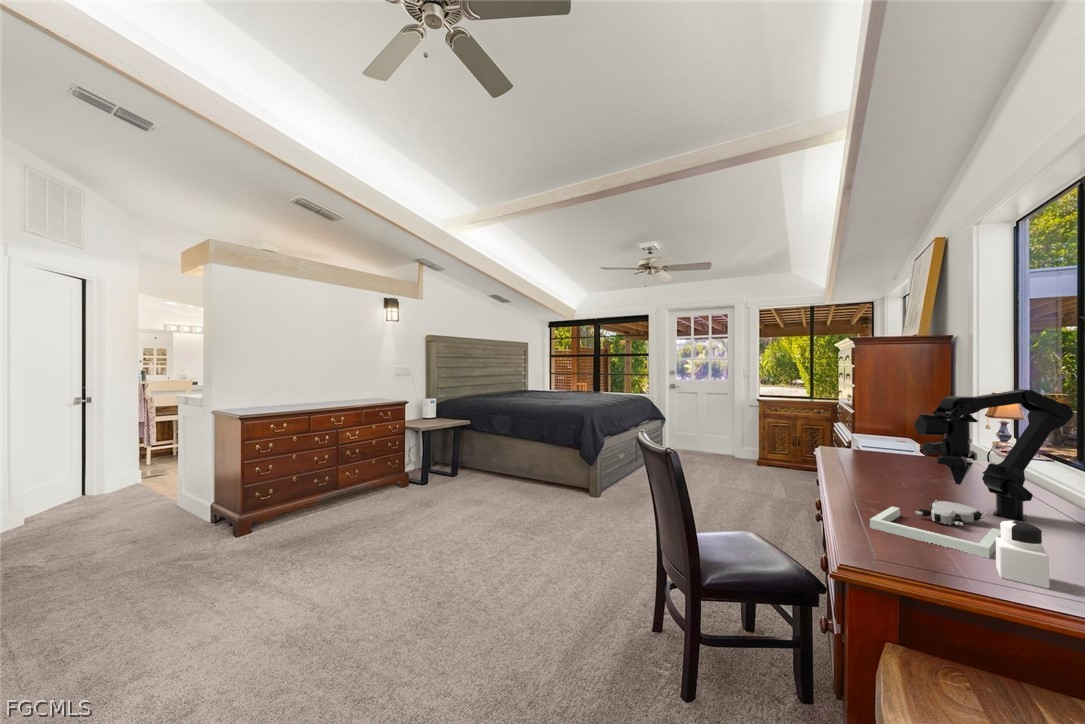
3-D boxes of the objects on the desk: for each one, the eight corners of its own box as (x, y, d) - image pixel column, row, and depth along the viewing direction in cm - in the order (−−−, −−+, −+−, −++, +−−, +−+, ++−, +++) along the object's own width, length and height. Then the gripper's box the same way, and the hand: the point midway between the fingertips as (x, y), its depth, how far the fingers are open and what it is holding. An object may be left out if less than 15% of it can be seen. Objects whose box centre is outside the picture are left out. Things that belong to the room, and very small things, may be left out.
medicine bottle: (1043, 577, 93) (1042, 523, 93) (1049, 589, 87) (1048, 532, 88) (995, 566, 98) (995, 515, 98) (999, 578, 92) (998, 523, 93)
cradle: (892, 514, 133) (891, 506, 133) (1003, 539, 113) (1003, 530, 113) (869, 527, 121) (869, 519, 121) (989, 558, 102) (988, 548, 102)
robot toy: (964, 535, 118) (989, 523, 124) (963, 520, 118) (989, 508, 124) (911, 521, 129) (937, 510, 135) (911, 506, 129) (937, 497, 135)
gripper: (931, 430, 146) (932, 474, 145) (915, 435, 135) (916, 483, 135) (977, 434, 137) (978, 481, 136) (963, 440, 126) (965, 491, 126)
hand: (958, 484), depth 133 cm, fingers closed
